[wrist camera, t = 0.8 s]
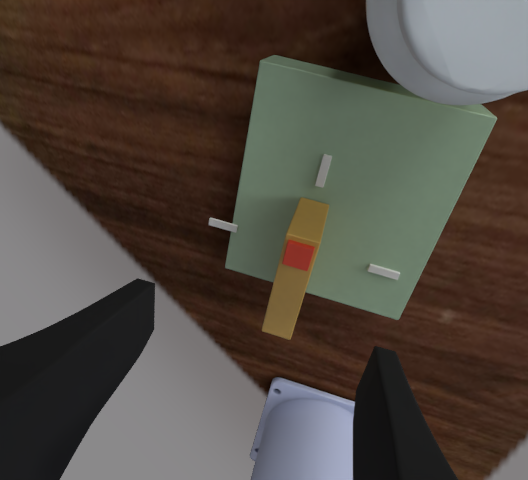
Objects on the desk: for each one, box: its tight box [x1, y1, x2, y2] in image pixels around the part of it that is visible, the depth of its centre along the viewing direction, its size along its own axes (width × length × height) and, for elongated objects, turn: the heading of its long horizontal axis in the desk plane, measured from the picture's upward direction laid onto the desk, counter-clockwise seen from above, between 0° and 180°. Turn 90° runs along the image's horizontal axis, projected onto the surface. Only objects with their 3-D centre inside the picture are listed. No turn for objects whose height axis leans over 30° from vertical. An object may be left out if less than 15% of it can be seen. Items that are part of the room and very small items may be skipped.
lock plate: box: [209, 55, 497, 320], centre depth 19 cm, size 12×10×3 cm
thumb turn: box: [262, 197, 329, 340], centre depth 17 cm, size 5×1×4 cm, turn 170°
